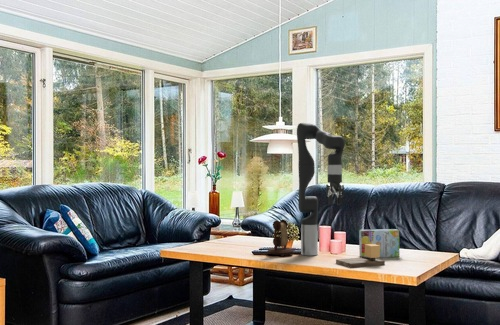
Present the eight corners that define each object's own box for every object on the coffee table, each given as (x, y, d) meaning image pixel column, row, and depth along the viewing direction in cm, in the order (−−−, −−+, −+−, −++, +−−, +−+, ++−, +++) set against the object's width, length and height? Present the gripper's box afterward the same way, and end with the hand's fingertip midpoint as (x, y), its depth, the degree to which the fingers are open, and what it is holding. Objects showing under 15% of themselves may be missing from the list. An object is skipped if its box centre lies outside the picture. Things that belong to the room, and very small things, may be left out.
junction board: (336, 263, 284) (335, 245, 284) (368, 260, 292) (368, 243, 292) (350, 267, 271) (350, 249, 271) (384, 264, 279) (384, 247, 279)
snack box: (396, 255, 310) (396, 228, 310) (399, 257, 304) (399, 229, 304) (359, 256, 309) (359, 229, 309) (361, 257, 303) (361, 230, 303)
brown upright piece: (284, 258, 303) (283, 221, 303) (262, 255, 312) (262, 220, 312) (298, 254, 314) (298, 219, 315) (277, 252, 323) (276, 218, 324)
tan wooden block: (364, 256, 282) (364, 244, 282) (373, 255, 285) (373, 243, 285) (371, 258, 277) (371, 246, 277) (379, 257, 280) (379, 245, 280)
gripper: (321, 173, 294) (321, 204, 294) (335, 173, 281) (335, 205, 281) (333, 173, 297) (334, 203, 297) (348, 173, 284) (348, 205, 284)
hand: (334, 204), depth 289 cm, fingers open, 8 cm apart
